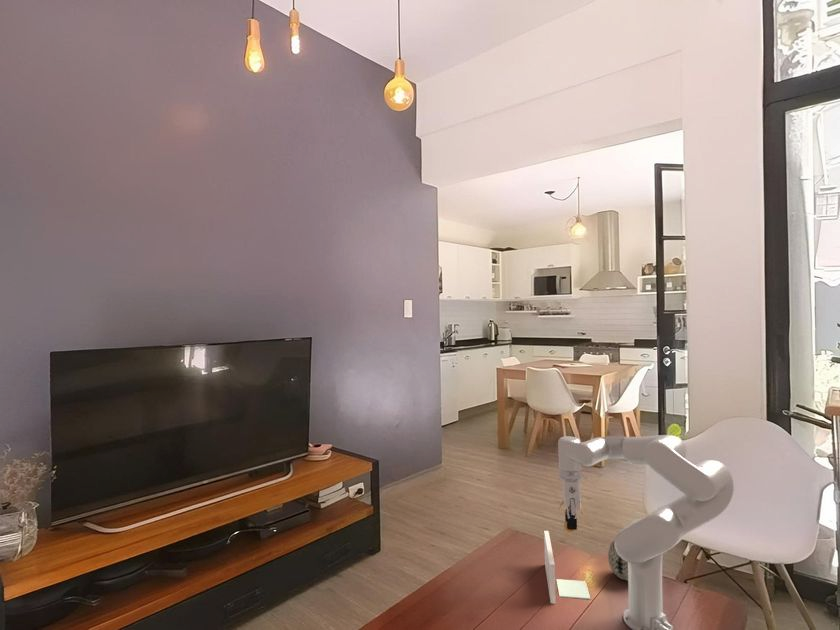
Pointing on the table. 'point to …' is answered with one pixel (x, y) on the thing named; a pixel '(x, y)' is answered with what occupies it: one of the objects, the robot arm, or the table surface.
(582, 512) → the figurine
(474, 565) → the table surface
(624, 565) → the decorative egg
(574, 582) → the mat
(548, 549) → the screen
